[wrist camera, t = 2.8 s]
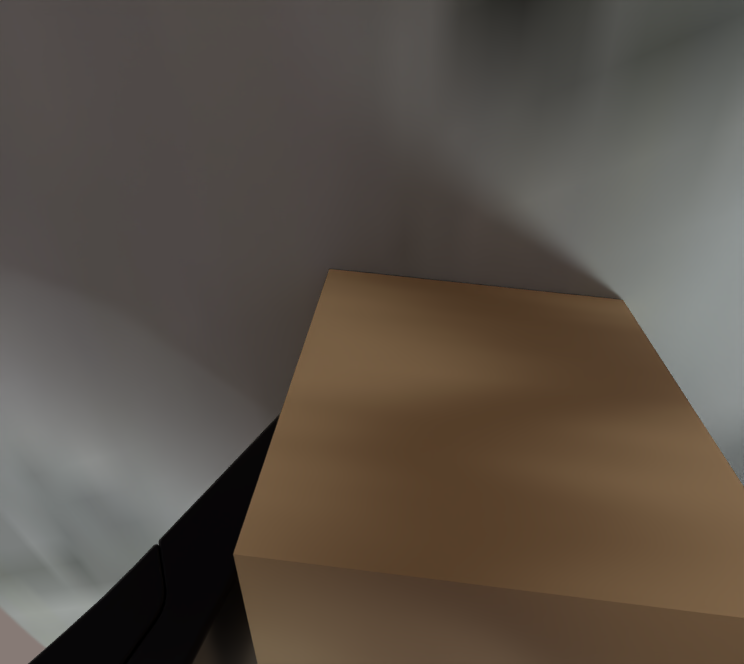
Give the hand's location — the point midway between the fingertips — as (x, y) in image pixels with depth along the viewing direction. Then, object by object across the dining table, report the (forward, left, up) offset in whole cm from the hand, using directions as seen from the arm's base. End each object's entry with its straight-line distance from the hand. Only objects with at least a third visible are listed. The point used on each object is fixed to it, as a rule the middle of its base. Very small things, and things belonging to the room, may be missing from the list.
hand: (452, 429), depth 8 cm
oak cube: (0, 0, -1) cm, 1 cm away
